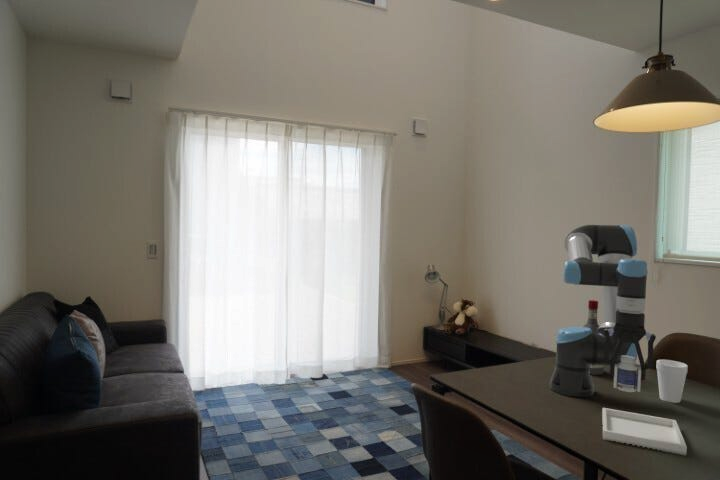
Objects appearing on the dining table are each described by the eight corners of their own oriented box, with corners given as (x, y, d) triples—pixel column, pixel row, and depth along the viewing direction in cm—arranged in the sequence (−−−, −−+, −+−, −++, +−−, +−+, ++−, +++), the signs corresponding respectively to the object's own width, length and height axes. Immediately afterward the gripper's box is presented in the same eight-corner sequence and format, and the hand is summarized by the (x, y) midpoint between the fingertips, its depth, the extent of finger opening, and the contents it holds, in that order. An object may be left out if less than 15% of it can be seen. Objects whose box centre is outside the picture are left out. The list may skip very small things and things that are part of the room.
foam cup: (686, 406, 166) (688, 369, 166) (654, 400, 171) (656, 364, 171) (685, 398, 174) (686, 362, 174) (654, 392, 179) (656, 358, 179)
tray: (602, 439, 138) (603, 430, 138) (602, 415, 156) (602, 407, 156) (686, 455, 130) (686, 446, 129) (675, 428, 147) (675, 420, 147)
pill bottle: (639, 393, 141) (641, 360, 141) (619, 391, 142) (621, 358, 142) (633, 387, 146) (635, 355, 146) (613, 385, 147) (615, 353, 147)
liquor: (573, 368, 207) (576, 299, 206) (591, 367, 209) (594, 299, 208) (588, 375, 198) (591, 302, 197) (607, 374, 200) (610, 302, 199)
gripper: (595, 309, 144) (592, 386, 145) (668, 316, 136) (664, 398, 137) (596, 306, 151) (592, 379, 152) (665, 312, 142) (661, 390, 143)
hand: (626, 388), depth 144 cm, fingers closed on pill bottle, 5 cm apart
